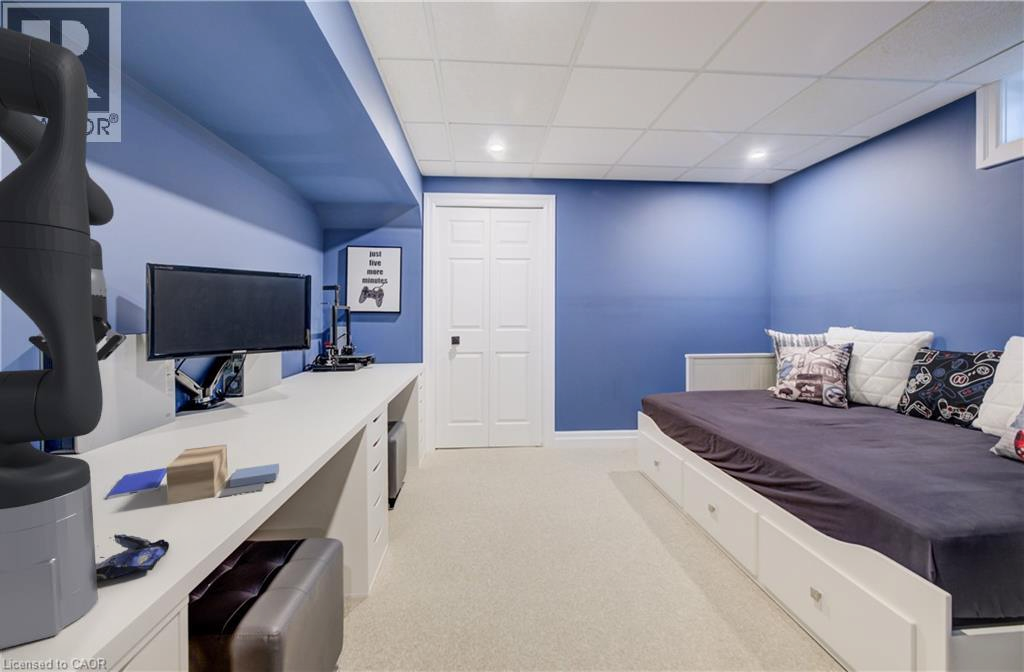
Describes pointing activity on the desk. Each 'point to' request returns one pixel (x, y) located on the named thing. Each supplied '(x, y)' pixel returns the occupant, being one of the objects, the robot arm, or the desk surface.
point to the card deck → (254, 475)
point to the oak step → (197, 474)
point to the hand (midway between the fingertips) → (82, 384)
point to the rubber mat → (240, 489)
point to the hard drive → (138, 483)
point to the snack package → (132, 556)
